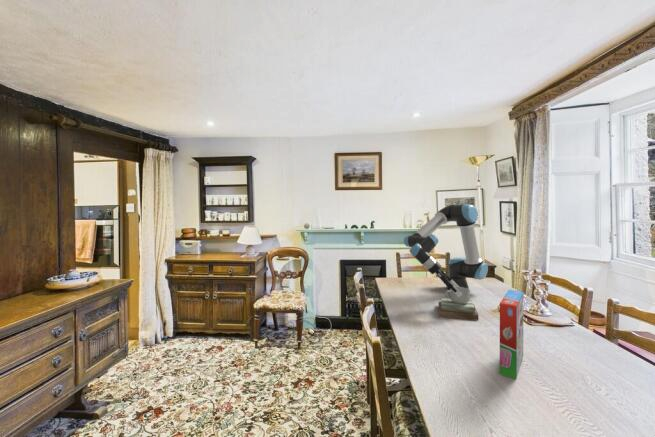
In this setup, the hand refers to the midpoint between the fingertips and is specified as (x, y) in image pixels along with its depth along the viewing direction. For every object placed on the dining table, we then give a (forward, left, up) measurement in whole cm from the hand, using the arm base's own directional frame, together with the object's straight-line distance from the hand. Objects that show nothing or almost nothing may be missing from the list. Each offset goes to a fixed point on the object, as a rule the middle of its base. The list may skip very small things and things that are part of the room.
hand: (459, 292), depth 171 cm
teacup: (0, -1, -6) cm, 7 cm away
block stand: (0, -1, -12) cm, 12 cm away
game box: (+54, +15, -12) cm, 57 cm away
